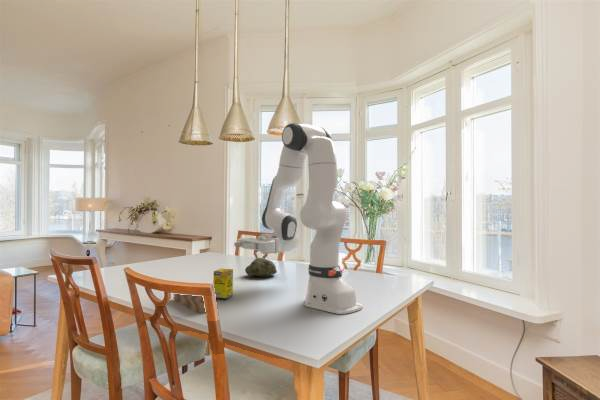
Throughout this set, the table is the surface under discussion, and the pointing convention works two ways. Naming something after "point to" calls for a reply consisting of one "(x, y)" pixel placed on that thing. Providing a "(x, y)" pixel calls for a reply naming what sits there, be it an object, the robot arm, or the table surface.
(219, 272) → the supplement box
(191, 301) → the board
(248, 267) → the decorative rock
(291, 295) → the table surface
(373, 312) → the table surface
